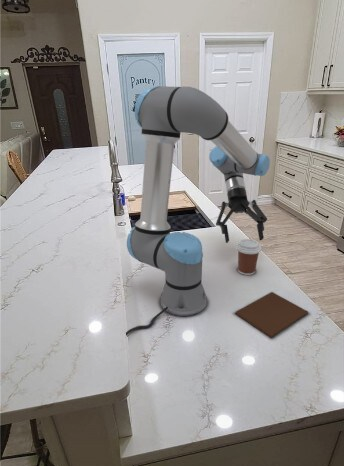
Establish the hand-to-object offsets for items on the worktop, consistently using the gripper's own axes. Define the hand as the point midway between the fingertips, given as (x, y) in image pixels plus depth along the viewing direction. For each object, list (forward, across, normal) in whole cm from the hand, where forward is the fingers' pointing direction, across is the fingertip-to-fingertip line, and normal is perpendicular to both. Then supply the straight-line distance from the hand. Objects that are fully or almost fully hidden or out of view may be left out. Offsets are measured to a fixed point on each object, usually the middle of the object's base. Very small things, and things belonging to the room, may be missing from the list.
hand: (244, 240), depth 127 cm
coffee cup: (+11, 0, -4) cm, 12 cm away
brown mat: (+30, +1, +15) cm, 34 cm away
